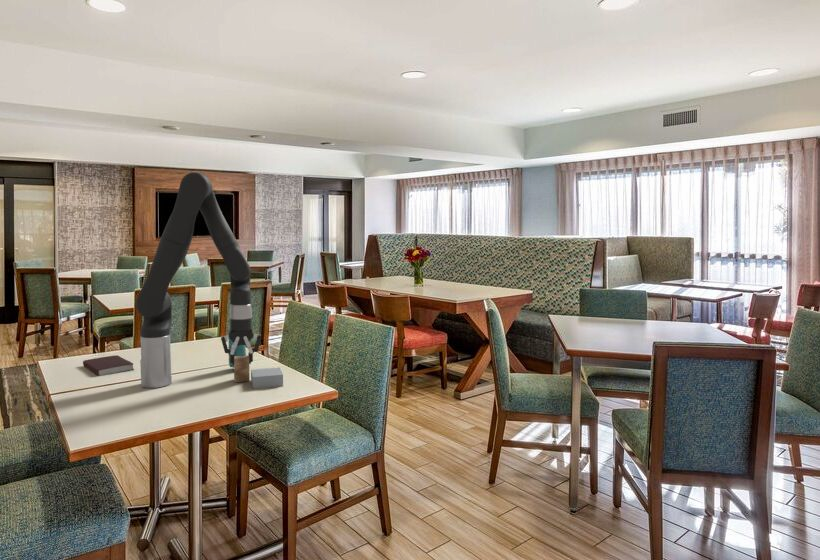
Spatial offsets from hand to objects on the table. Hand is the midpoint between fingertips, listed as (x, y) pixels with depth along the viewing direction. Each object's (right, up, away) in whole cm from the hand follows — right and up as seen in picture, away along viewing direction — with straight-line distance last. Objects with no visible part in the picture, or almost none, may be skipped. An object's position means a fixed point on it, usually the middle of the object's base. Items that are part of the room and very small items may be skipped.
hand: (241, 363), depth 192 cm
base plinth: (+10, -6, -2) cm, 12 cm away
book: (-56, -5, +15) cm, 58 cm away
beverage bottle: (-6, -5, +15) cm, 17 cm away
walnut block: (0, -6, +1) cm, 6 cm away
